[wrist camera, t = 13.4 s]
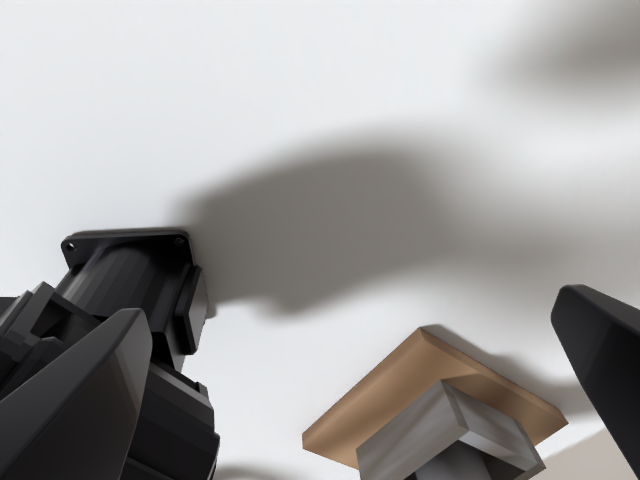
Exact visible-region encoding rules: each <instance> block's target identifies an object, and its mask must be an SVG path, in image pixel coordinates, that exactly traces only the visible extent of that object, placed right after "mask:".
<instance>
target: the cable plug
mask: <svg viewBox="0 0 640 480" xmlns="http://www.w3.org/2000/svg"><path fill="white" fill-rule="evenodd" d="M415 473H416V477H417V480H491V477H490V475H489V473H488V470H487V468H486V466H485V463H484V461H483V459H482V456H481V454H480V452H479V449H478V448H475V447H473V446H471V445H469V444H467V443H465V442H463V441H460V440H457V441H455V442H454V443H452V444H451V445H450V446H448V447H447V448H446V449H444V450H443V451H442V452H440V453H439V454H437V455H436V456H435V457H433V458H432V459H431V460H429V461H428V462H427V463H425V464H424V465H423V466H421V467H420V468H418V469H417V470H416V471H415Z"/></svg>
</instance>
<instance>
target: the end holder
mask: <svg viewBox="0 0 640 480" xmlns="http://www.w3.org/2000/svg"><path fill="white" fill-rule="evenodd" d="M567 424H569V423H568V422H567V420H566V419H565V417H564V416H563V414H562V413H561V411H560V410H559V409H557V408H555V407H553V406H552V405H550V404H548V403H547V402H545V401H543V400H542V399H540V398H538V397H536V396H535V395H533V394H531V393H530V392H528V391H526V390H524V389H523V388H521V387H519V386H518V385H516V384H514V383H513V382H511V381H509V380H507V379H506V378H504V377H502V376H501V375H499V374H497V373H496V372H494V371H492V370H490V369H489V368H487V367H485V366H484V365H482V364H480V363H479V362H477V361H475V360H473V359H472V358H470V357H468V356H467V355H465V354H463V353H462V352H460V351H458V350H456V349H455V348H453V347H451V346H450V345H448V344H446V343H444V342H443V341H441V340H439V339H438V338H436V337H434V336H433V335H431V334H429V333H427V332H426V331H424V330H422V329H421V328H418V329H417V330H416V331H415V332H414V333H412V334H411V335H410V336H409V337H408V338H407V339H406V340H405V341H404V342H403V343H402V344H400V345H399V346H398V347H397V348H396V349H395V350H394V351H393V352H392V353H391V354H389V355H388V356H387V357H386V358H385V359H384V360H383V361H382V362H381V363H380V364H379V365H377V366H376V367H375V368H374V369H373V370H372V371H371V372H370V373H369V374H368V375H366V376H365V377H364V378H363V379H362V380H361V381H360V382H359V383H358V384H357V385H356V386H354V387H353V388H352V389H351V390H350V391H349V392H348V393H347V394H346V395H345V396H343V397H342V398H341V399H340V400H339V401H338V402H337V403H336V404H335V405H334V406H332V407H331V408H330V409H329V410H328V411H327V412H326V413H325V414H324V415H323V416H322V417H320V418H319V419H318V420H317V421H316V422H315V423H314V424H313V425H312V426H311V427H309V428H308V429H307V430H306V431H305V432H304V433H303V434H302V441H303V449H305V450H307V451H310V452H313V453H315V454H318V455H320V456H323V457H326V458H328V459H331V460H334V461H336V462H339V463H342V464H344V465H347V466H349V467H352V468H355V469H357V470H359V472H360V478H361V480H417V477H416V473H415V471H416V470H417V469H418V468H420V467H421V466H423V465H424V464H425V463H427V462H428V461H429V460H431V459H432V458H433V457H435V456H436V455H437V454H439V453H440V452H442V451H443V450H444V449H446V448H447V447H448V446H450V445H451V444H452V443H454V442H455V441H457V440H460V441H463V442H465V443H467V444H469V445H471V446H473V447H475V448H478V449H479V452H480V454H481V456H482V459H483V461H484V463H485V466H486V468H487V470H488V473H489V475H490V477H491V480H528V479H530V478H532V477H533V476H534V475H536V474H538V473H539V472H541V471H542V470H544V469H546V467H545V465H544V463H543V461H542V459H541V458H540V456H539V454H538V452H537V451H536V449H535V447H534V446H536V445H537V444H539V443H540V442H542V441H543V440H545V439H546V438H548V437H549V436H551V435H552V434H554V433H555V432H557V431H558V430H560V429H561V428H563V427H564V426H566V425H567Z"/></svg>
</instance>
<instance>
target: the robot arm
mask: <svg viewBox="0 0 640 480" xmlns="http://www.w3.org/2000/svg"><path fill="white" fill-rule="evenodd" d="M177 238H181V239H183V240H184V242H182V243H181V242H178V241H177V240H176V239H177ZM69 243H71V244H74V245H75V246H76V248H74V247H72V246H70V244H69ZM61 249H62V252H63V254H64V257H65V259H66V262H67V265H68V267H69V271H68V273H67V274H66V275H65V277H64V278H63V279H62V281H61V282H60V283H59V284H58V286H57V287H56V288H53V287H52V286H50V285H49V284H47V283H46V282H44V281H43V282H41V283H40V284H39V285H38V286H37V287H36V288H35V289H34V290H33V291H32V292H30V291H28V290H27V291H26V292H25V293H23V294H22V295H21V296H18V297H0V480H212V479H213V475H214V472H215V468H216V462H217V455H218V451H219V447H220V436H219V434H217V433H215V432H214V429H215V428H214V409H213V407H212V405H211V403H210V401H209V397H208V391H207V387H205V386H204V385H202V384H201V383H199V382H196V383H195V382H193V381H192V380H190V379H189V378H187V377H186V376H184V375H183V374H181V371H182V367H183V363H184V359H185V355H193V354H194V353H195V352H196V351H197V349H198V345H199V341H200V336H201V332H202V328H203V325H204V324H205V320H206V311H207V307H208V297H207V292H206V286H205V281H204V276H203V270H202V268H201V267H200V266H199V265H196V264H195V259H194V254H193V249H192V244H191V238H190V236H189V234H188V233H187V232H185V231H181V230H176V231H155V232H134V233H112V234H91V235H71V236H68V237H66V238H65V239H64V240H63V241H62V243H61ZM551 323H552V326H553V328H554V330H555V332H556V334H557V336H558V338H559V340H560V342H561V345H562V347H563V349H564V351H565V353H566V355H567V357H568V359H569V361H570V363H571V365H572V367H573V370H574V372H575V374H576V376H577V378H578V380H579V382H580V384H581V385H582V387H583V389H584V391H585V393H586V394H587V396H588V398H589V399H590V401H591V403H592V404H593V406H594V408H595V409H596V411H597V412H598V414H599V416H600V417H601V419H602V421H603V422H604V424H605V426H606V427H607V429H608V431H609V432H610V434H611V435H612V437H613V439H614V440H615V442H616V444H617V445H618V447H619V449H620V450H621V452H622V453H623V455H624V457H625V459H626V460H627V462H628V463H629V465H630V467H631V468H632V470H633V471H634V473H635V475H636V477H637V478H638V480H640V310H639V309H637V308H634V307H632V306H630V305H628V304H625V303H623V302H621V301H619V300H617V299H614V298H612V297H610V296H608V295H605V294H603V293H601V292H599V291H597V290H594V289H592V288H590V287H588V286H585V285H581V284H578V285H565V286H563V287H562V288H561V289H560V291H559V293H558V296H557V299H556V301H555V304H554V307H553V309H552V312H551Z"/></svg>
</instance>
